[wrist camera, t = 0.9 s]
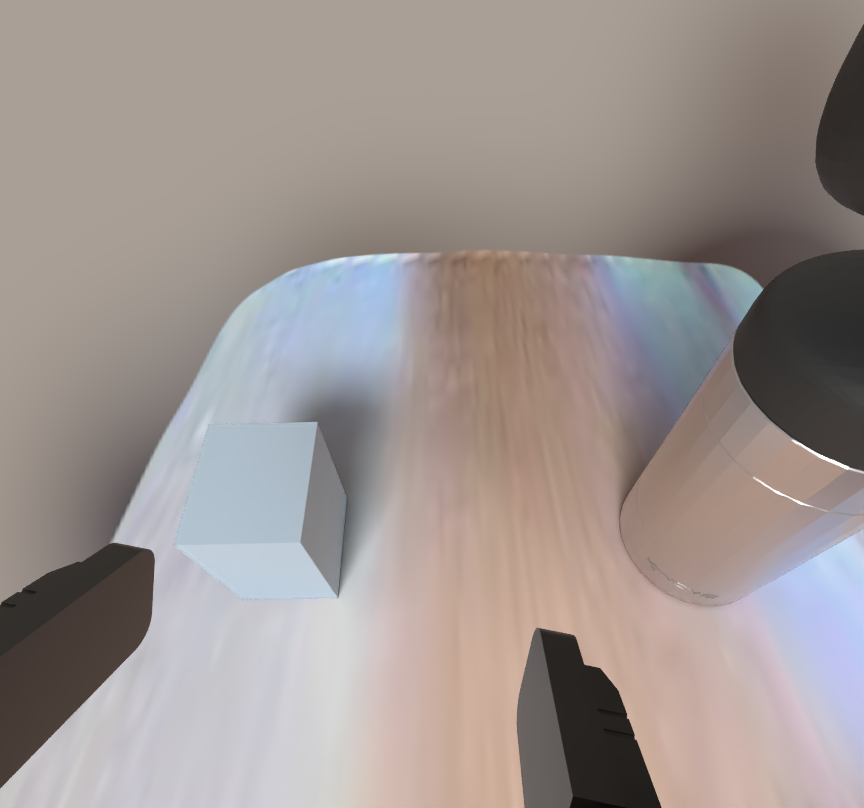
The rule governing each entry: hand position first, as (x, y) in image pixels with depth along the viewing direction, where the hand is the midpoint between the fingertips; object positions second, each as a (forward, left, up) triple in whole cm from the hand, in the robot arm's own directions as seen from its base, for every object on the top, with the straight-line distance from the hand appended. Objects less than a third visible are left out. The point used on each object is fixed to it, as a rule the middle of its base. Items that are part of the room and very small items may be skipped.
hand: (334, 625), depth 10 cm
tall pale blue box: (-4, -12, -23) cm, 26 cm away
